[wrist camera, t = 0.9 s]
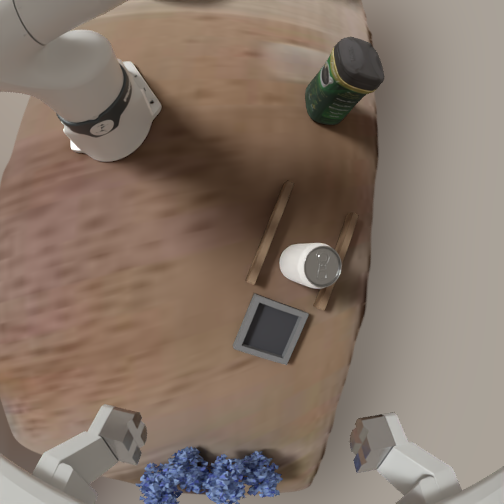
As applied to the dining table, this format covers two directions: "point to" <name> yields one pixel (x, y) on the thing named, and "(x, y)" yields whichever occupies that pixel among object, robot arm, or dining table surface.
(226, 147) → the dining table surface
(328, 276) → the can
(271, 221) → the rail channel
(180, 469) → the decorative sculpture
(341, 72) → the coffee jar
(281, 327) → the tray
